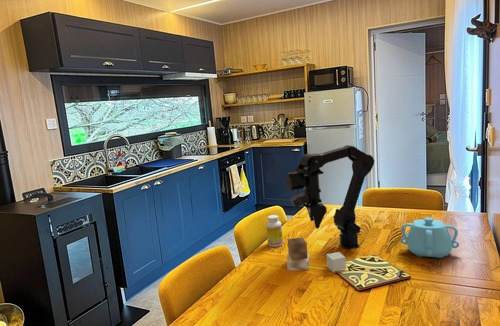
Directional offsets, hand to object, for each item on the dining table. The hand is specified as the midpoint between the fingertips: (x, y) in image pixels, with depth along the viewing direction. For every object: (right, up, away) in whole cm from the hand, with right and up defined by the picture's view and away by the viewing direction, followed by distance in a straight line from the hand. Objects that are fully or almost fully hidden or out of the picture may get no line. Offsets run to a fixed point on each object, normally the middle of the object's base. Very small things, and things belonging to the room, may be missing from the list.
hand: (314, 224), depth 147 cm
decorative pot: (+43, -10, -6) cm, 44 cm away
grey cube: (+6, -14, -12) cm, 19 cm away
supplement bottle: (-14, -12, +16) cm, 25 cm away
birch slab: (-7, -15, -6) cm, 18 cm away
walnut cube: (-7, -11, -6) cm, 15 cm away
